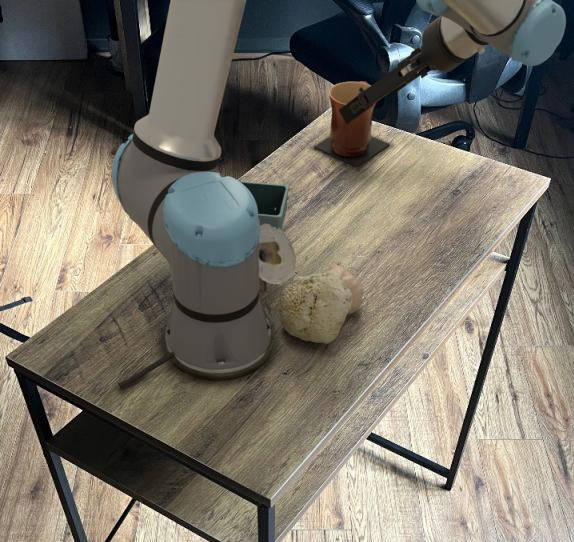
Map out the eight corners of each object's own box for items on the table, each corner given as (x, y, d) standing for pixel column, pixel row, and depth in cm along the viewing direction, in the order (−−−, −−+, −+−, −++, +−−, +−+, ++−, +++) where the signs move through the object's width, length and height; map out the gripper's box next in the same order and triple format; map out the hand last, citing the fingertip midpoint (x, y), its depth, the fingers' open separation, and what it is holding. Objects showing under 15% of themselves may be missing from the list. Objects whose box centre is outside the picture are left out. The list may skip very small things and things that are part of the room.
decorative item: (286, 360, 122) (254, 299, 118) (326, 332, 125) (296, 272, 122) (334, 351, 112) (300, 284, 108) (376, 320, 115) (345, 255, 112)
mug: (365, 166, 148) (371, 109, 140) (319, 156, 149) (322, 100, 141) (383, 134, 155) (389, 78, 147) (338, 125, 156) (342, 69, 148)
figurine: (312, 233, 121) (234, 243, 130) (275, 195, 113) (194, 208, 122) (296, 301, 119) (217, 306, 128) (257, 266, 111) (176, 275, 120)
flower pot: (225, 261, 130) (223, 211, 123) (235, 229, 136) (233, 179, 128) (280, 267, 130) (281, 217, 123) (288, 235, 135) (289, 184, 128)
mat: (357, 167, 148) (357, 165, 148) (314, 148, 152) (314, 146, 152) (389, 145, 153) (389, 143, 153) (346, 127, 157) (346, 125, 156)
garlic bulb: (317, 319, 124) (341, 289, 128) (355, 325, 121) (378, 294, 125) (309, 281, 119) (334, 251, 123) (349, 286, 116) (373, 255, 120)
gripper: (423, 88, 122) (335, 149, 139) (506, 33, 134) (416, 96, 151) (398, 39, 120) (312, 108, 137) (485, -12, 132) (396, 57, 149)
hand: (366, 102), depth 144 cm, fingers open, 13 cm apart
